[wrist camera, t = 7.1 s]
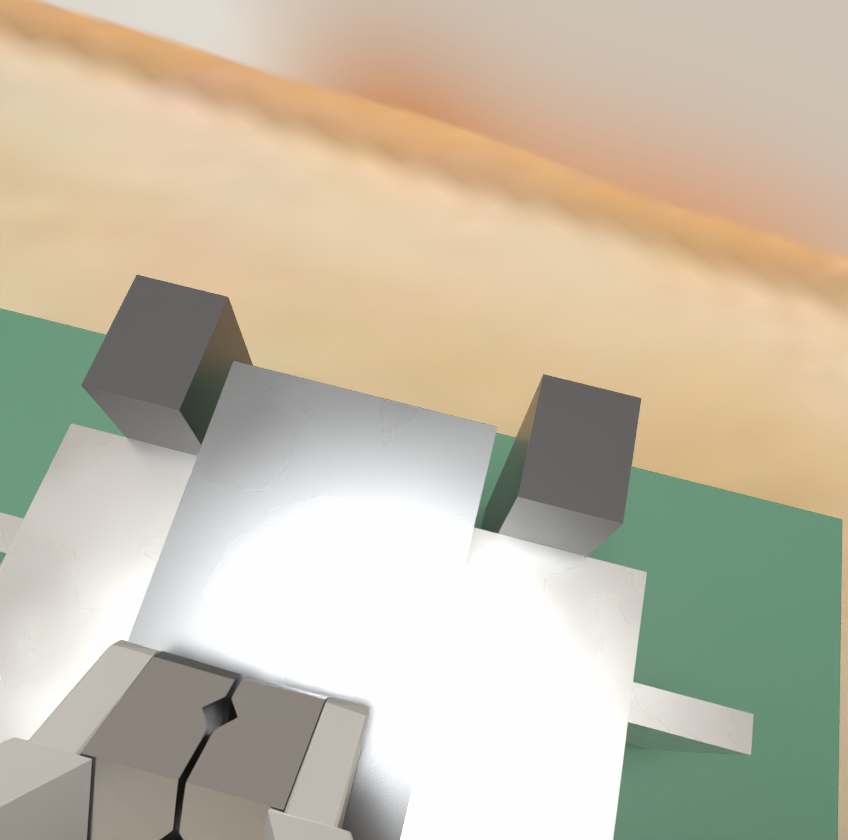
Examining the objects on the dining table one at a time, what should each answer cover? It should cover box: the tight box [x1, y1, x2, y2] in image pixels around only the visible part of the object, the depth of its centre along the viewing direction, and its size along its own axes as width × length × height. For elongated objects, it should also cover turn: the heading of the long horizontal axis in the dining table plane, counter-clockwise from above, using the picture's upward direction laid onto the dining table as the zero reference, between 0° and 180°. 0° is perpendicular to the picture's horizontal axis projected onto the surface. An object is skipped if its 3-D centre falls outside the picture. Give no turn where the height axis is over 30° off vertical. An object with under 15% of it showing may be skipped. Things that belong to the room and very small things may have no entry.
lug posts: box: [81, 275, 641, 557], centre depth 14 cm, size 8×2×7 cm, turn 76°
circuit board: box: [0, 308, 842, 840], centre depth 15 cm, size 22×18×1 cm
